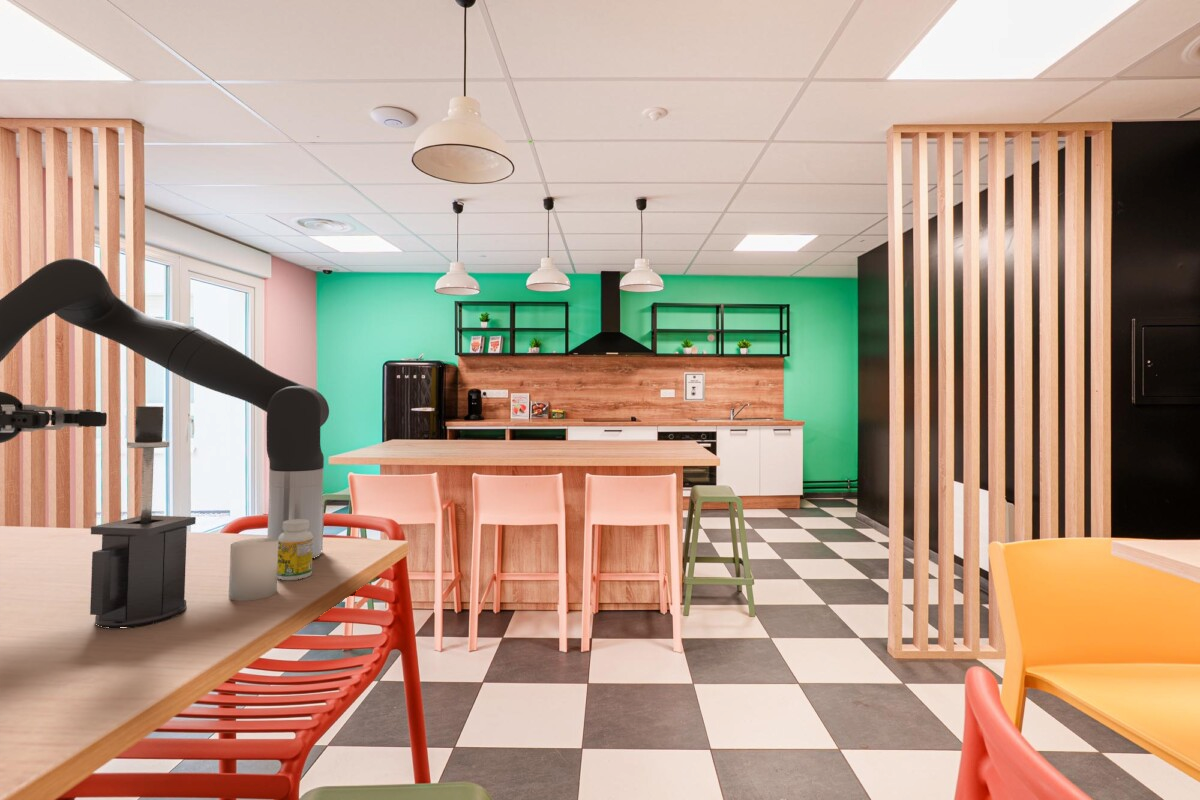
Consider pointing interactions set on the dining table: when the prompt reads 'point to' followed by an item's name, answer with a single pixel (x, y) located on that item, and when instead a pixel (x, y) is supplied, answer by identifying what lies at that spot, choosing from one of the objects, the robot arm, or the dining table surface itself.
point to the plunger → (148, 451)
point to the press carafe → (139, 571)
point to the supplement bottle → (295, 550)
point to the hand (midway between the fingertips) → (75, 419)
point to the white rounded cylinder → (253, 569)
